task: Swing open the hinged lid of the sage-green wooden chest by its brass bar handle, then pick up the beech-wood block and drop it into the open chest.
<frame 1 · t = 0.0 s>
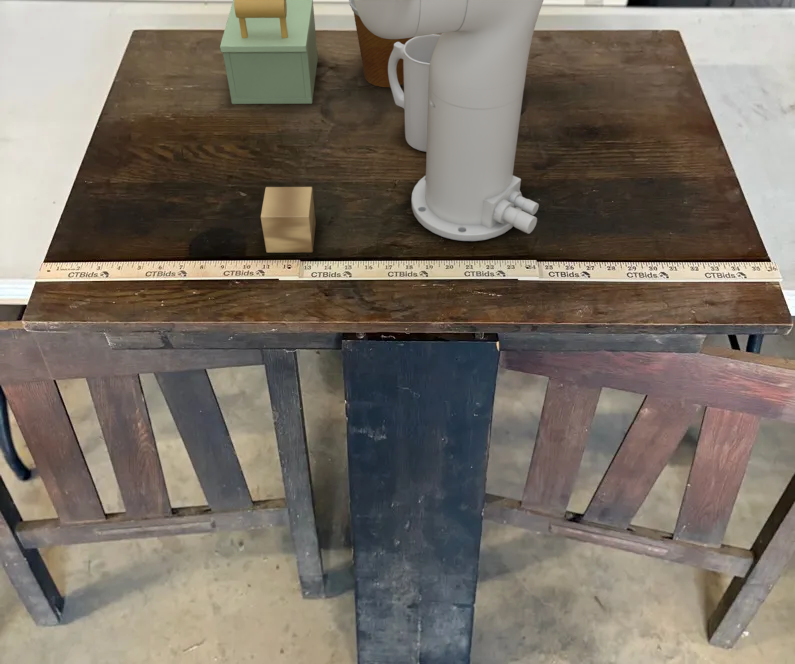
chest: (276, 80, 109), on the table
lid: (266, 5, 101), point 11 cm above the table, hinge at 0.0°
block: (291, 237, 88), on the table
mug: (420, 134, 101), on the table
disposable coffee cup: (387, 76, 110), on the table
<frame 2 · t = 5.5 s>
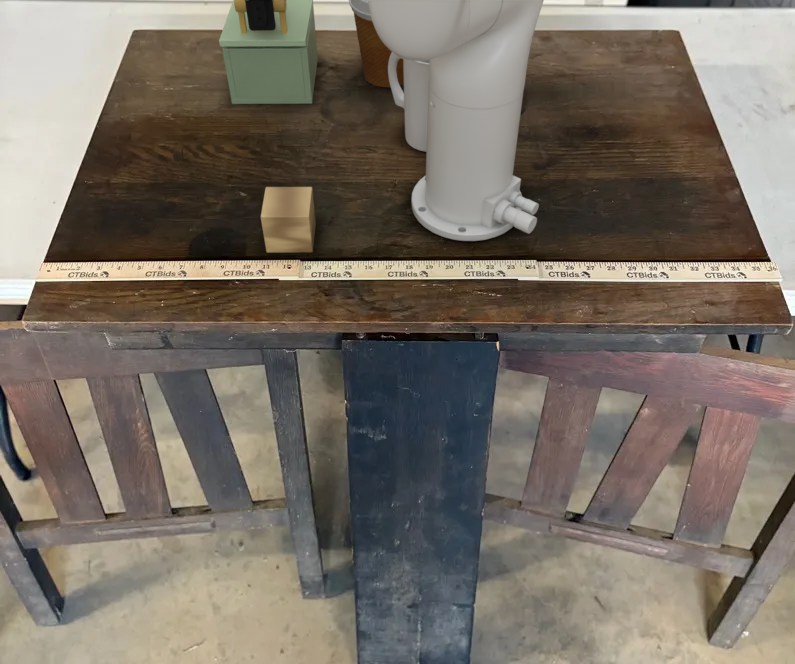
hand: (264, 18, 99), 11 cm above the table, tool pointing down, fingers open, 4 cm apart
lid: (265, 2, 101), point 11 cm above the table, hinge at 3.4°, touching gripper
everything else where it was.
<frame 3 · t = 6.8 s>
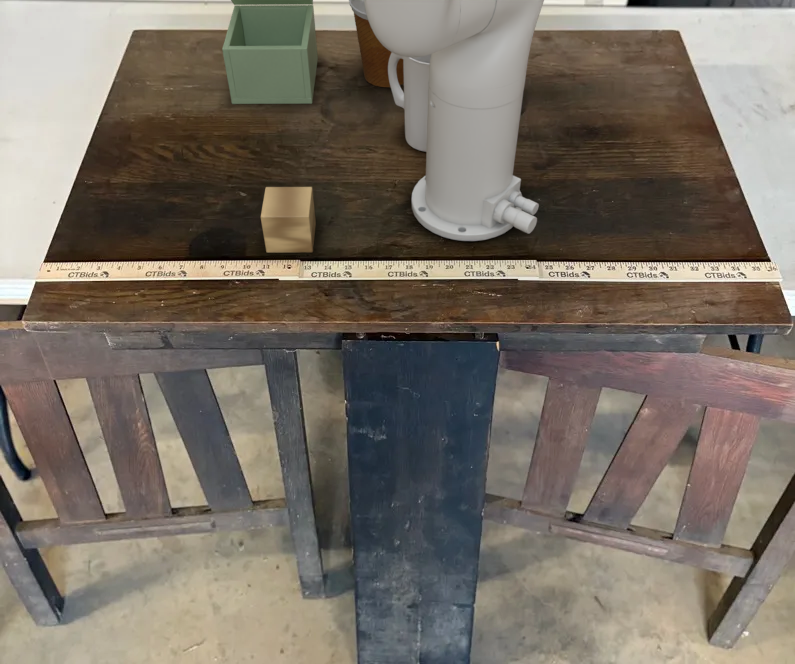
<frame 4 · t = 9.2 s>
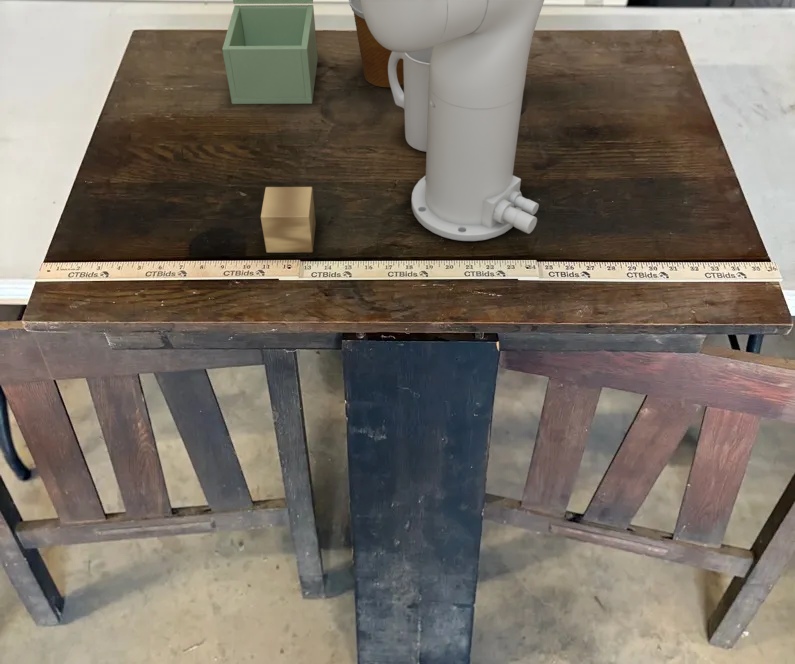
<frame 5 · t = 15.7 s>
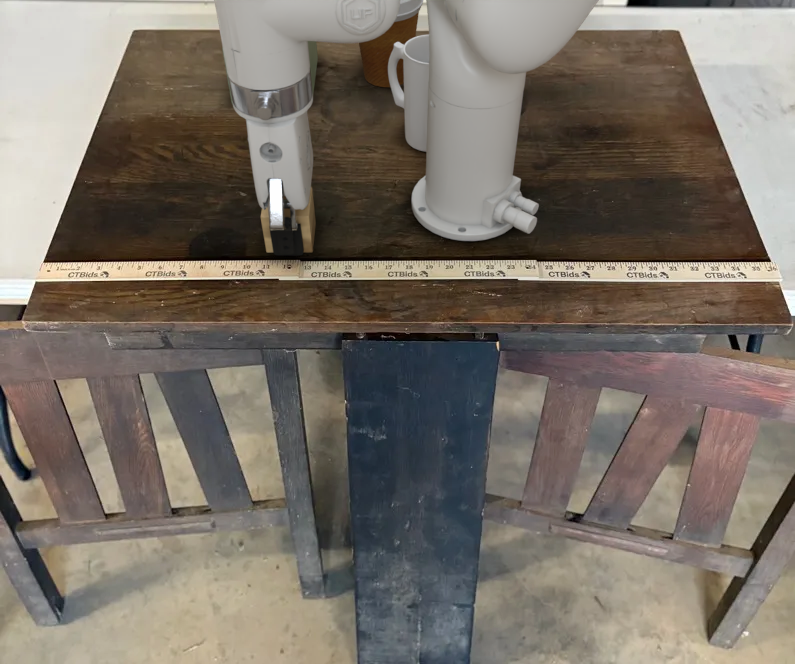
hand: (291, 234, 87), 0 cm above the table, tool pointing down, fingers closed on block, 5 cm apart
block: (291, 237, 88), on the table, touching gripper
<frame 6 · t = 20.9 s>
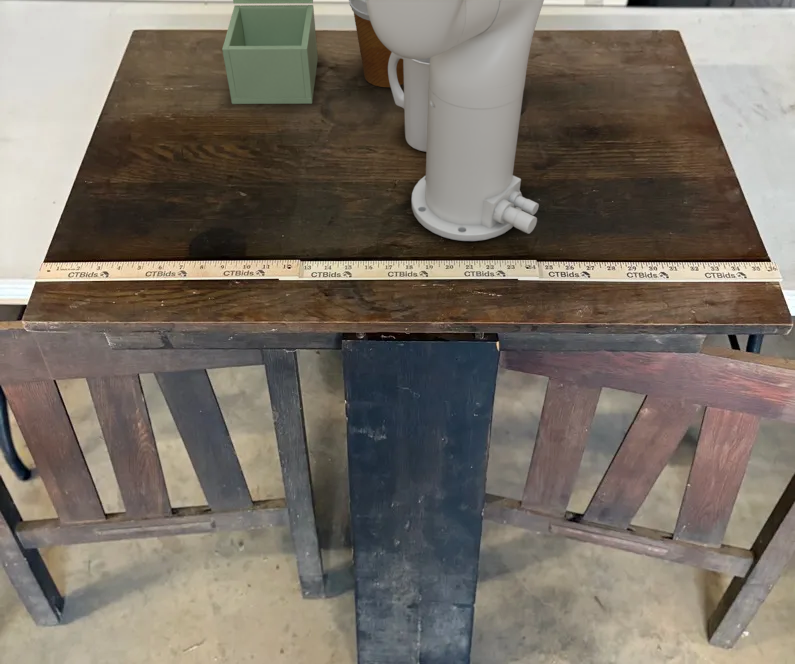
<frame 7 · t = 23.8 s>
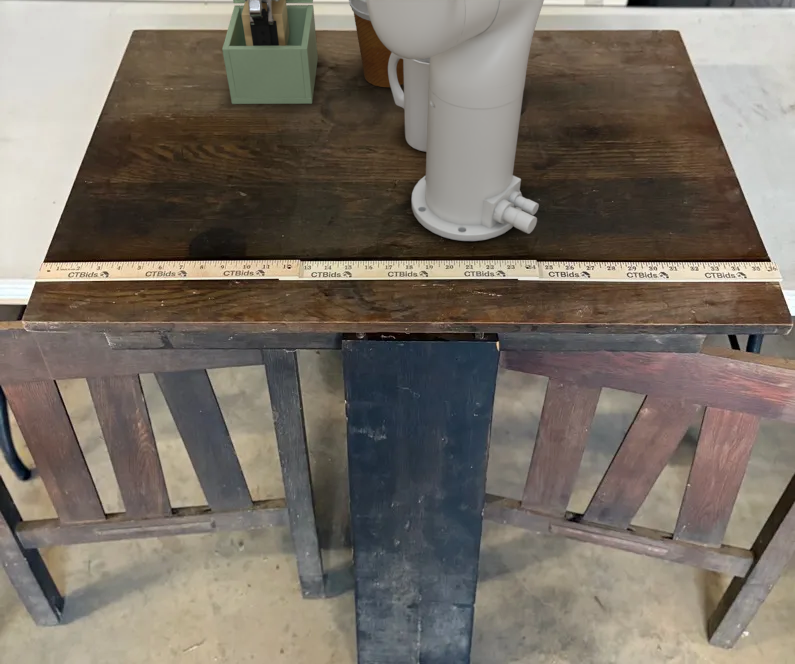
hand: (269, 38, 104), 7 cm above the table, tool pointing down, fingers closed on block, 5 cm apart
block: (268, 42, 104), point 6 cm above the table, touching gripper
when the fingers open (6 cm above the table, at t = 24.0 s): block drops 5 cm, resting on chest.
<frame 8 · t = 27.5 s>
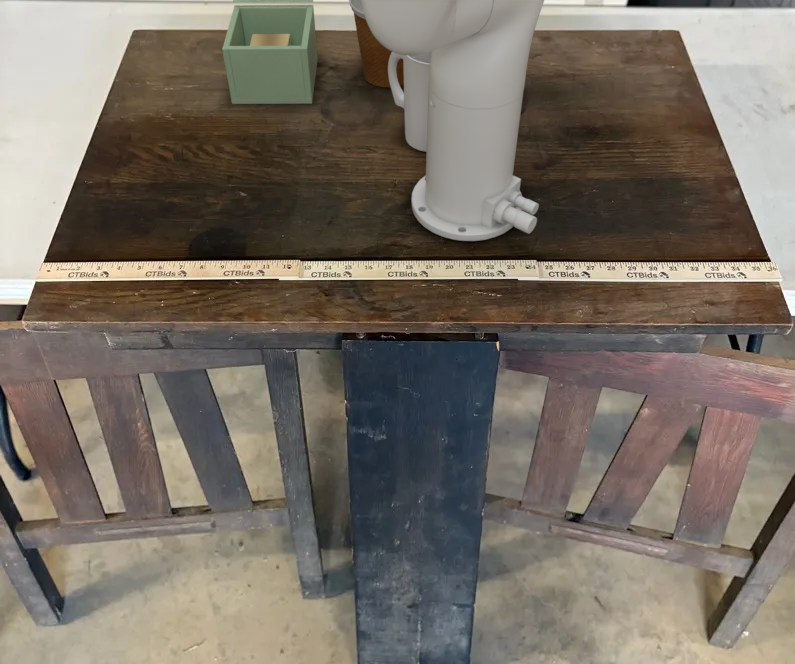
block: (273, 77, 108), point 1 cm above the table, touching chest
at the end: lid at +105° (first picture: +0°); block inside the target area in the chest (0.7 cm from its centre), point 0.8 cm above the chest's base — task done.
